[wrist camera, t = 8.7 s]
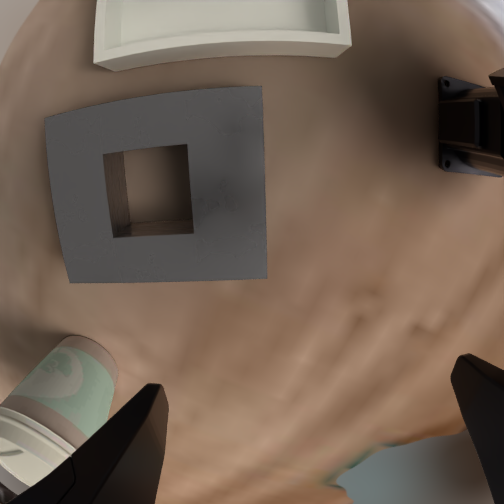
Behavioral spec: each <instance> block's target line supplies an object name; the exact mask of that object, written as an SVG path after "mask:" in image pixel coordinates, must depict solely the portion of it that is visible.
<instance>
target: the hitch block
mask: <svg viewBox="0 0 504 504" xmlns="http://www.w3.org/2000/svg"><path fill="white" fill-rule="evenodd" d="M45 136H46V149H47V160H48V170H49V178H50V186H51V193H52V200H53V206H54V212H55V218H56V224H57V229H58V234H59V239H60V244H61V249H62V253H63V257H64V262H65V266H66V270H67V274H68V278H69V282H70V283H137V282H182V281H216V280H243V279H267V240H266V198H265V163H264V131H263V103H262V86H244V87H224V88H210V89H198V90H188V91H179V92H170V93H163V94H155V95H148V96H142V97H136V98H130V99H124V100H119V101H114V102H109V103H104V104H99V105H94V106H90V107H85V108H81V109H77V110H73V111H69V112H65V113H61V114H58V115H54V116H50V117H47V118H45ZM181 144H187V145H188V162H189V176H190V190H191V202H192V214H193V219H187V220H169V221H153V222H139V223H131V221H130V214H129V206H128V198H127V189H126V180H125V170H124V159H123V151H128V150H135V149H143V148H152V147H161V146H170V145H181Z"/></svg>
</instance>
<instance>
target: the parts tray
mask: <svg viewBox="0 0 504 504" xmlns="http://www.w3.org/2000/svg"><path fill="white" fill-rule="evenodd" d="M351 46H352V42H351V31H350V21H349V12H348V3H347V0H97V6H96V18H95V34H94V64H97V65H99V66H102V67H104V68H107V69H109V70H112V71H114V72H117V71H122V70H127V69H132V68H137V67H143V66H149V65H155V64H162V63H168V62H176V61H184V60H193V59H203V58H215V57H231V56H257V55H287V56H314V57H329V58H336V57H338V56H339V55H340V54H342V53H343V52H344V51H345V50H347V49H348V48H349V47H351Z"/></svg>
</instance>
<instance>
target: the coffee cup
mask: <svg viewBox="0 0 504 504" xmlns="http://www.w3.org/2000/svg"><path fill="white" fill-rule="evenodd" d="M117 378H118V369H117V365H116V363H115V361H114V360H113V358H112V357H111V355H110V354H109V353H108V352H107V351H106V350H105V349H104V348H103V347H102V346H100V345H99V344H98V343H96V342H94V341H92V340H90V339H88V338H85V337H81V336H69V337H67V338H65V339H63V340H62V341H61V342H60V343H59V344H58V345H57V346H56V347H55V348H54V349H53V350H52V351H51V352H50V353H49V354H48V355H47V356H46V357H45V358H44V359H43V360H42V361H41V362H40V363H39V364H38V365H37V366H36V367H35V368H34V369H33V370H32V371H31V372H30V373H29V374H28V375H27V376H26V377H25V379H24V380H23V381H22V382H21V383H20V384H19V385H18V386H17V387H16V388H15V389H14V390H13V391H12V392H11V393H10V394H9V396H8V397H7V398H6V399H5V400H4V401H3V402H2V403H1V404H0V464H1V465H2V466H3V467H4V468H5V469H6V470H7V471H8V472H10V473H11V474H12V475H13V476H15V477H16V478H18V479H19V480H20V481H22V482H23V483H25V484H27V485H28V486H30V487H31V486H33V485H34V484H36V483H37V482H39V481H40V480H41V479H43V478H44V477H45V476H47V475H48V474H49V473H51V472H52V471H53V470H54V469H55V468H56V467H58V466H59V465H60V464H61V463H62V462H63V461H64V460H66V459H67V458H68V457H69V456H71V454H72V453H73V452H74V451H76V450H77V449H78V448H79V447H80V446H81V445H82V444H83V443H84V442H85V441H86V440H88V439H89V438H90V437H91V436H92V435H93V434H94V433H95V432H96V431H97V430H98V429H99V428H101V427H102V426H103V425H104V424H105V423H106V422H107V418H108V414H109V410H110V406H111V402H112V398H113V394H114V390H115V386H116V382H117Z"/></svg>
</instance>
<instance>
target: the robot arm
mask: <svg viewBox="0 0 504 504" xmlns="http://www.w3.org/2000/svg"><path fill="white" fill-rule="evenodd" d="M488 76H489V79H490V81H491V83H492V85H494V86H495V87H490V88H485V87H482V86H479V85H476V84H472V83H469V82H466V81H462V80H458V79H455V78H451V77H447V76H444V77H440V78H439V80H438V90H439V104H438V110H439V167H440V168H441V169H442V170H444V171H447V172H458V173H467V174H476V175H485V176H493V177H502V176H504V68H502V69H500V70H498V71H496V72H494V73H492V74H490V75H488ZM444 81H445V82H446V83H447V86H445V84H444ZM446 161H447V166H446V167H445V162H446ZM451 383H452V386H453V389H454V392H455V395H456V398H457V401H458V404H459V407H460V410H461V414H462V417H463V419H464V422H465V424H466V427H467V429H468V431H469V434H470V436H471V439H472V441H473V444H474V446H475V449H476V451H477V454H478V457H479V459H480V462H481V464H482V467H483V470H484V473H485V476H486V479H487V481H488V485H489V488H490V491H491V494H492V497H493V500H494V503H495V504H504V370H502V369H500V368H498V367H496V366H494V365H492V364H490V363H488V362H486V361H484V360H482V359H480V358H478V357H476V356H474V355H472V354H469V353H468V354H464V355H460V356H459V357H458V358H457V360H456V363H455V366H454V368H453V371H452V373H451ZM168 412H169V406H168V401H167V398H166V395H165V391H164V388H163V386H162V385H161V384H155V383H148V384H146V385H145V386H144V387H143V388H142V389H141V390H140V391H139V392H138V393H137V394H136V395H135V396H134V397H133V398H131V399H130V400H129V401H128V402H127V403H126V404H125V405H124V406H123V407H122V408H121V409H120V410H119V411H118V412H117V413H116V414H114V415H113V416H112V417H111V418H110V419H109V420H108V421H107V422H106V423H105V424H104V425H103V426H102V427H101V428H99V429H98V430H97V431H96V432H95V433H94V434H93V435H92V436H91V437H90V438H89V439H88V440H86V441H85V442H84V443H83V444H82V445H81V446H80V447H79V448H78V449H77V450H76V451H74V452H73V453H72V454H71V456H69V457H68V458H67V459H66V460H64V461H63V462H62V463H61V464H60V465H59V466H58V467H56V468H55V469H54V470H53V471H52V472H51V473H49V474H48V475H47V476H45V477H44V478H43V479H41V480H40V481H39V482H37V483H36V484H34V485H33V486H31V487H30V488H29V489H27V490H26V491H24V492H23V493H21V494H20V495H18V496H17V497H15V498H14V499H12V500H11V501H9V502H7V503H6V504H155V499H156V494H157V489H158V484H159V480H160V475H161V470H162V465H163V460H164V455H165V445H166V433H167V422H168Z"/></svg>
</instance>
